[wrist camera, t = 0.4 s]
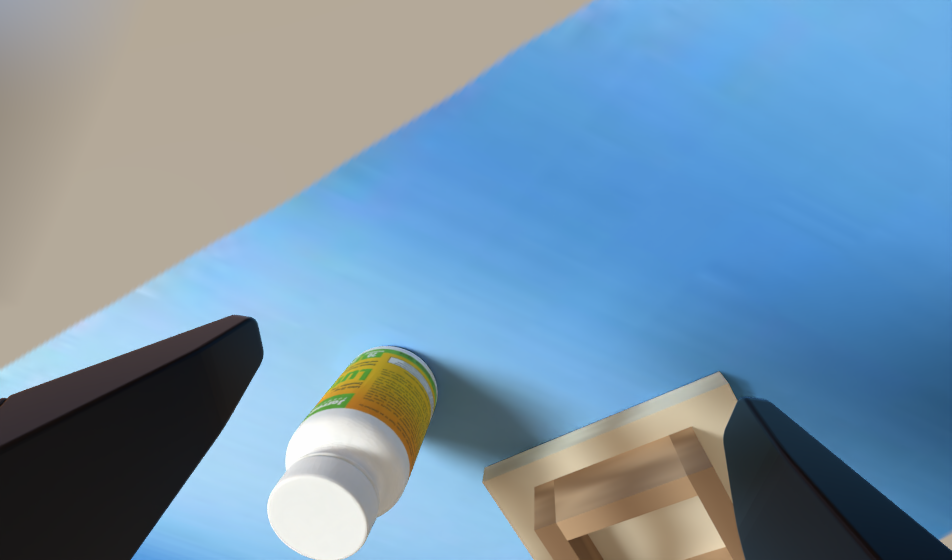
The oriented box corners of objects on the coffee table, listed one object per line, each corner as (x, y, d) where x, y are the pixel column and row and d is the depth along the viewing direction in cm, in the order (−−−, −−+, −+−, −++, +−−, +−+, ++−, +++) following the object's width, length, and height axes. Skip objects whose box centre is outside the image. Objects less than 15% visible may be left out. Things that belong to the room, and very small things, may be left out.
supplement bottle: (386, 324, 25) (300, 432, 16) (458, 387, 26) (416, 526, 17) (329, 384, 27) (221, 514, 18) (399, 443, 27) (330, 598, 18)
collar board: (578, 610, 30) (585, 684, 26) (484, 467, 27) (475, 524, 23) (804, 542, 26) (853, 615, 22) (719, 371, 24) (756, 418, 20)
